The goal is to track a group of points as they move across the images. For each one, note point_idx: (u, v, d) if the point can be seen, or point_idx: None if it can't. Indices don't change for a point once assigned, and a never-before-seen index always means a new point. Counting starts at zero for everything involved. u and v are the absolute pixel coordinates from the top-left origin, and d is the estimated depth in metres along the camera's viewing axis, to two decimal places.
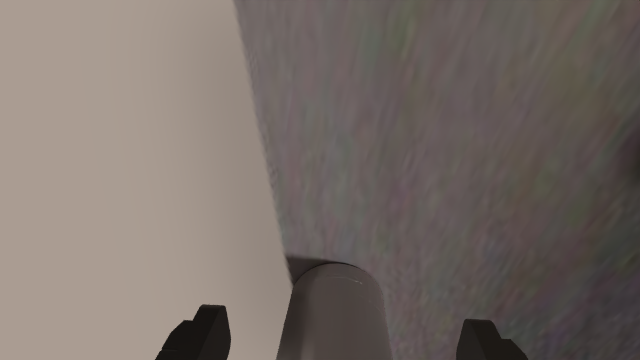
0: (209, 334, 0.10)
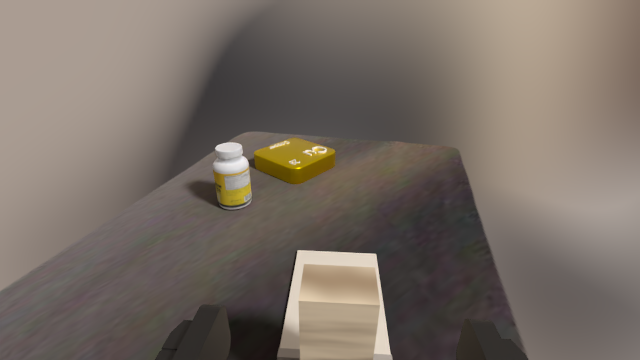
0: (209, 334, 0.10)
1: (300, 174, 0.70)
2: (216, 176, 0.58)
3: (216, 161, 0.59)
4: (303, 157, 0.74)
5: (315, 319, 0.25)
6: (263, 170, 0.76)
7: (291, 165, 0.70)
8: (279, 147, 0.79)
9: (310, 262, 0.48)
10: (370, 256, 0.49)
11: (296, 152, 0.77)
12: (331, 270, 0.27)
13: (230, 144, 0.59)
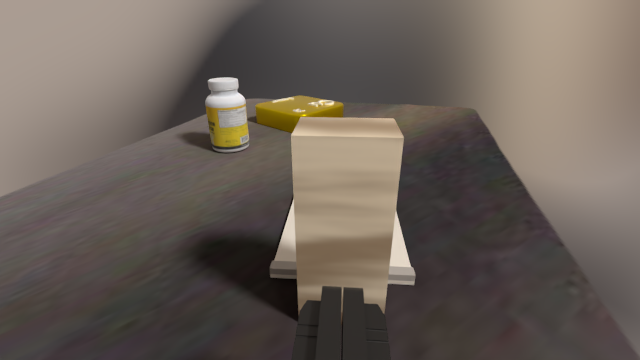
0: None
1: None
2: (209, 112, 0.53)
3: (209, 96, 0.53)
4: (308, 107, 0.68)
5: (314, 168, 0.18)
6: (265, 123, 0.70)
7: (295, 112, 0.64)
8: (283, 101, 0.74)
9: None
10: None
11: (301, 104, 0.71)
12: (335, 120, 0.20)
13: (225, 78, 0.54)
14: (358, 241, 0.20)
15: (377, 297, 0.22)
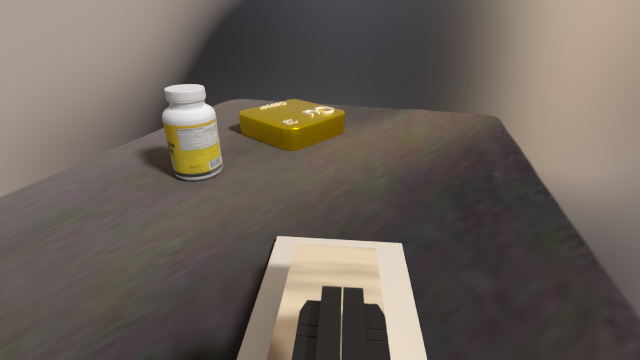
0: None
1: (297, 137, 0.52)
2: (166, 130, 0.40)
3: (167, 109, 0.41)
4: (302, 117, 0.56)
5: (309, 260, 0.23)
6: (250, 135, 0.58)
7: (285, 125, 0.52)
8: (273, 107, 0.62)
9: None
10: (392, 247, 0.30)
11: (294, 112, 0.59)
12: None
13: (188, 85, 0.41)
14: None
15: None
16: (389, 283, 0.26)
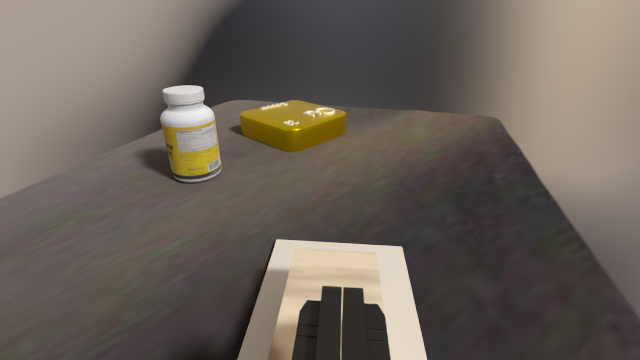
0: None
1: (298, 138, 0.52)
2: (165, 132, 0.40)
3: (165, 110, 0.40)
4: (303, 118, 0.56)
5: (309, 265, 0.22)
6: (251, 136, 0.58)
7: (286, 126, 0.52)
8: (274, 108, 0.61)
9: None
10: (393, 250, 0.30)
11: (295, 113, 0.59)
12: None
13: (187, 87, 0.41)
14: None
15: None
16: (390, 287, 0.26)
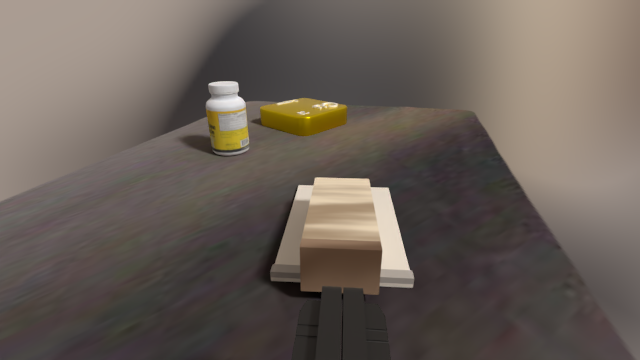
0: None
1: (309, 125, 0.65)
2: (209, 115, 0.53)
3: (209, 99, 0.53)
4: (312, 110, 0.69)
5: (325, 184, 0.35)
6: (270, 125, 0.71)
7: (299, 115, 0.65)
8: (287, 104, 0.75)
9: None
10: (382, 189, 0.43)
11: (305, 107, 0.72)
12: None
13: (225, 82, 0.54)
14: (351, 204, 0.30)
15: (371, 230, 0.26)
16: (379, 207, 0.39)
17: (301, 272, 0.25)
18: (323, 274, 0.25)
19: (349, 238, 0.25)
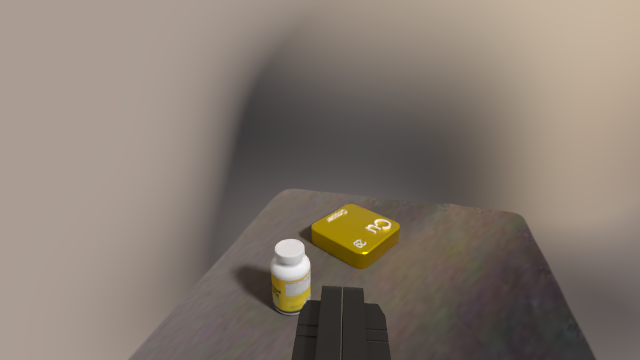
0: None
1: (367, 259, 0.63)
2: (275, 281, 0.51)
3: (275, 263, 0.52)
4: (367, 235, 0.67)
5: None
6: (322, 247, 0.69)
7: (357, 248, 0.63)
8: (337, 219, 0.73)
9: None
10: None
11: (358, 227, 0.70)
12: None
13: (290, 242, 0.52)
14: None
15: None
16: None
17: None
18: None
19: None
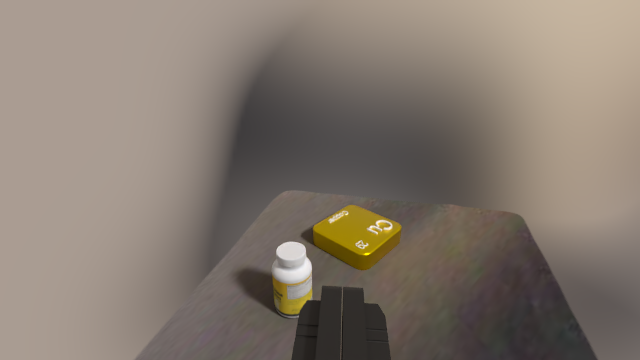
0: None
1: (369, 260, 0.64)
2: (277, 284, 0.51)
3: (276, 266, 0.51)
4: (368, 237, 0.67)
5: None
6: (324, 249, 0.70)
7: (359, 250, 0.64)
8: (339, 220, 0.73)
9: None
10: None
11: (359, 228, 0.70)
12: None
13: (291, 245, 0.52)
14: None
15: None
16: None
17: None
18: None
19: None
